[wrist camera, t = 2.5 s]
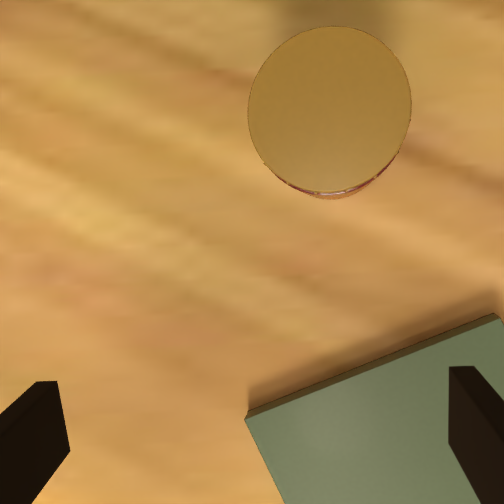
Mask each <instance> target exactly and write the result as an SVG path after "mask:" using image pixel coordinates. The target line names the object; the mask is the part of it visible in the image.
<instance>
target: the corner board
mask: <svg viewBox="0 0 504 504" xmlns="http://www.w3.org/2000/svg"><path fill="white" fill-rule="evenodd" d="M449 366H475V367H476V369H477V370H478V371H479V372H480V373H481V374H482V376H483V377H484V378H485V379H486V380H487V381H488V383H489V384H490V385H491V386H492V387H493V388H494V390H495V391H496V392H497V393H498V394H499V395H500V397H501V398H502V399H503V400H504V325H503V322H502V320H501V318H499V317H498V316H496V315H495V314H493V313H492V314H490V315H487V316H485V317H482V318H480V319H477V320H475V321H472V322H470V323H467V324H465V325H462V326H460V327H458V328H455V329H453V330H450V331H448V332H445V333H443V334H440V335H438V336H435V337H433V338H430V339H428V340H425V341H423V342H420V343H418V344H415V345H413V346H410V347H408V348H405V349H403V350H400V351H398V352H395V353H393V354H390V355H388V356H385V357H383V358H380V359H378V360H375V361H373V362H370V363H368V364H365V365H363V366H360V367H358V368H355V369H353V370H350V371H348V372H345V373H343V374H340V375H338V376H335V377H333V378H330V379H328V380H325V381H323V382H320V383H318V384H315V385H313V386H310V387H308V388H305V389H303V390H300V391H298V392H295V393H293V394H290V395H288V396H285V397H283V398H280V399H278V400H275V401H273V402H270V403H268V404H265V405H263V406H260V407H258V408H255V409H253V410H250V411H248V413H247V415H246V417H245V419H244V420H245V422H246V424H247V426H248V428H249V430H250V433H251V435H252V437H253V439H254V441H255V443H256V445H257V447H258V449H259V451H260V453H261V455H262V457H263V459H264V461H265V463H266V465H267V468H268V470H269V472H270V474H271V476H272V478H273V480H274V482H275V484H276V486H277V488H278V490H279V492H280V494H281V496H282V498H283V501H284V503H285V504H481V503H480V501H479V499H478V498H477V496H476V494H475V492H474V490H473V488H472V486H471V485H470V483H469V481H468V479H467V477H466V475H465V473H464V472H463V470H462V468H461V466H460V464H459V462H458V460H457V459H456V457H455V455H454V453H453V451H452V449H451V447H450V446H449V444H448V405H449Z"/></svg>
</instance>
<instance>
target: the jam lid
mask: <svg viewBox="0 0 504 504" xmlns="http://www.w3.org/2000/svg"><path fill="white" fill-rule="evenodd" d="M411 105H412V100H411V91H410V86H409V82H408V79H407V76H406V74H405V71H404V69H403V67H402V65H401V64H400V62H399V60H398V59H397V57H396V56H395V55H394V54H393V52H392V51H391V50H390V49H389V48H388V47H387V46H386V45H385V44H384V43H382V42H381V41H379V40H378V39H377V38H375V37H373V36H371V35H370V34H368V33H366V32H363V31H360V30H357V29H354V28H349V27H343V26H327V27H319V28H315V29H311V30H308V31H305V32H302V33H300V34H298V35H296V36H294V37H292V38H290V39H289V40H287V41H286V42H284V43H283V44H282V45H281V46H279V47H278V48H277V49H276V50H275V51H274V52H273V53H272V54H271V55H270V56H269V57H268V59H267V60H266V61H265V63H264V64H263V65H262V67H261V68H260V70H259V72H258V74H257V76H256V78H255V80H254V83H253V86H252V88H251V92H250V96H249V102H248V125H249V131H250V135H251V139H252V141H253V144H254V146H255V149H256V151H257V152H258V154H259V156H260V158H261V159H262V160H263V162H264V165H266V166H267V167H268V168H269V169H270V170H271V171H272V172H273V173H274V174H276V175H277V176H278V177H280V178H281V179H282V180H284V181H286V184H288V185H290V184H291V185H293V186H296V187H298V188H300V189H303V190H307V191H311V192H315V194H318V193H335V192H342V191H346V192H348V190H349V189H352V188H355V187H357V186H360V185H362V184H363V183H365V182H367V181H369V180H370V179H371V178H376V177H377V174H378V173H379V172H380V171H381V170H382V169H383V168H384V167H385V166H386V165H387V164H388V163H389V162H390V161H391V160H392V158H393V157H394V156H395V155H397V154H398V153H399V151H398V150H399V148H400V147H401V145H402V143H403V140H404V138H405V136H406V133H407V130H408V127H409V123H410V121H411V119H410V117H411Z"/></svg>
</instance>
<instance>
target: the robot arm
mask: <svg viewBox="0 0 504 504" xmlns="http://www.w3.org/2000/svg"><path fill="white" fill-rule="evenodd" d="M448 444H449V446H450V447H451V449H452V451H453V453H454V455H455V457H456V459H457V460H458V462H459V464H460V466H461V468H462V470H463V472H464V473H465V475H466V477H467V479H468V481H469V483H470V485H471V486H472V488H473V490H474V492H475V494H476V496H477V498H478V499H479V501H480V503H481V504H504V400H503V399H502V398H501V397H500V395H499V394H498V393H497V392H496V391H495V390H494V388H493V387H492V386H491V385H490V384H489V383H488V381H487V380H486V379H485V378H484V377H483V376H482V374H481V373H480V372H479V371H478V370H477V369H476V367H475V366H449V405H448ZM69 452H70V446H69V441H68V436H67V430H66V425H65V420H64V415H63V409H62V404H61V399H60V393H59V388H58V383H57V381H40V382H35V383H34V384H33V385H32V386H31V387H30V388H29V389H28V390H26V391H25V392H24V393H23V394H22V395H21V396H20V397H19V398H18V399H16V400H15V401H14V402H13V403H12V404H11V405H10V406H9V407H8V408H6V409H5V410H4V411H3V412H2V413H1V414H0V504H32V502H33V501H34V500H35V498H36V497H37V495H38V494H39V493H40V491H41V490H42V489H43V487H44V486H45V485H46V483H47V482H48V481H49V479H50V478H51V477H52V475H53V474H54V472H55V471H56V470H57V468H58V467H59V466H60V464H61V463H62V462H63V460H64V459H65V458H66V456H67V455H68V454H69Z"/></svg>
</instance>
